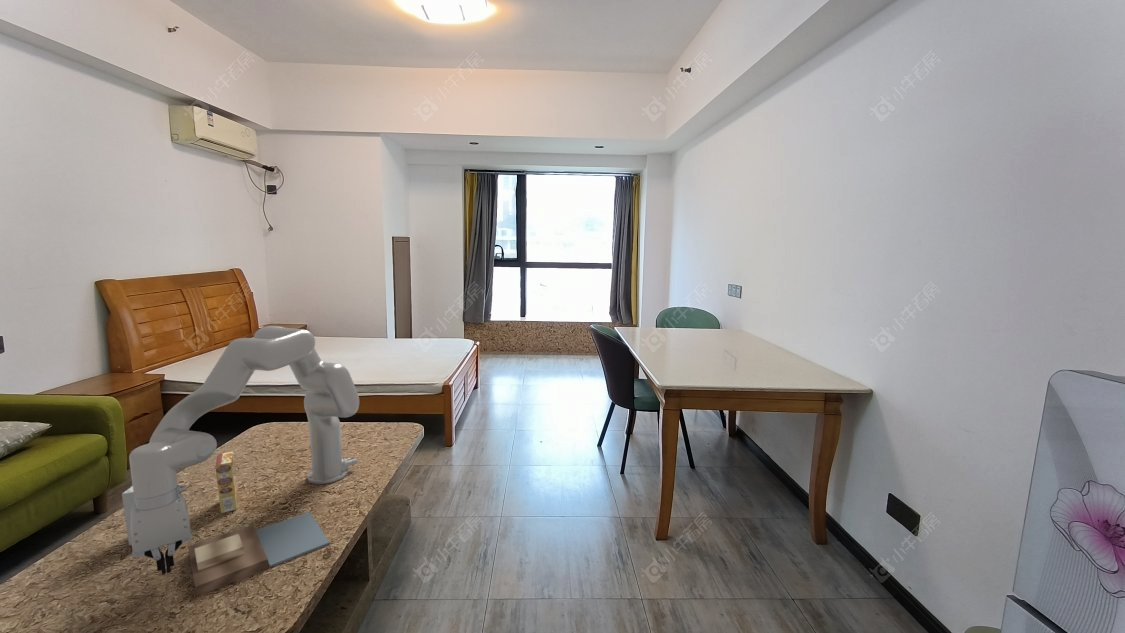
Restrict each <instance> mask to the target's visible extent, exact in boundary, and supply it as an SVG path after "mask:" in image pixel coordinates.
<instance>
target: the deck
mask: <svg viewBox="0 0 1125 633" xmlns="http://www.w3.org/2000/svg"><path fill="white" fill-rule="evenodd" d="M256 530H257V529H256V527H255V525H254V524H251V525H248V526H245V527H241V528H239V529H236V530H232V531H228V532H227V533H223V534H220V535H217V536H214V537H212V538H208V539H205V540H202V541H199V542H195V543H193V544H190V545H188V546H187V548H188V555H189V556H188V557H189V562H190V569H191V574H192V579H193V585H194V591H195V595H196V597H199V596H201V595H205V594H206V593H210V592H211V591H214V590H217V589H220V588H222V587H225V586H227V585H229V584H232V583H236V582H237V581H240V580H242V579H245V578H247V577H250V576H253V575H255V574H257V573H261V572H262V571H265V570H268V569H269V568H270V566H269V564H268V558H267V556H266V553H265V551H264V549H263V546H262V544H261V542H260V539H259V537H258V534H257V532H256ZM236 534H239V536H240V539H241V542H242V544H243V549H244V554H243V555H240V556H237V557H235V558H232V559H229V560H226V561H224V562H221V563H218V564H215V565H213V566H210V567H207V568H204V569H202V570H199V571H198V567H197V562H196V557H195V548H198V547H201V546H204V545H207V544H210V543H213V542H216V541H218V540H221V539H224V538H227V537H230V536H233V535H236Z"/></svg>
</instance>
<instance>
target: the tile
mask: <svg viewBox="0 0 1125 633" xmlns="http://www.w3.org/2000/svg"><path fill="white" fill-rule="evenodd" d="M243 554H244V549H243V544H242V542H241V539H240V536H239V534H236V535H233V536H230V537H227V538H224V539H221V540H218V541H216V542H213V543H210V544H207V545H204V546H201V547H198V548H195V557H196V562H197V567H198V571H199V570H202V569H204V568H207V567H210V566H213V565H215V564H218V563H221V562H224V561H226V560H229V559H232V558H235V557H237V556H240V555H243Z"/></svg>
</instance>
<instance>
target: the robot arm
mask: <svg viewBox="0 0 1125 633" xmlns="http://www.w3.org/2000/svg"><path fill="white" fill-rule="evenodd" d="M315 346H316V338H315V336H314V335H313V333H311V331H309V330H307V329H305V328H304V329H303V328H293V327H292V328H291V327H290V328H288V327H284V326H280V325H279V326H278V325H268V326H263V327H260V328H259V329H258V330H256V331H255V333H254V334H253V338H252V337H243V338H242V337H240V338H236V339H234V340H232V341H231V342H230V343H228V345H227V347H226V348H225V349H224V351H223V352H222V354H221V356H220V358H219V359H218V360H217V362H216V364H215V366H213V368H212V370H211V372H210V373H209V374H208V376H207V377H206V379H205V380H204V382H203V384H202V385H201V386H200V387H199V388H198V389H196V390H195V391H193V392H191V393H190V394H189V395H187V396H185V397H183V399H182V400H180V401H179V402H178V403H176V404H175V405H174V406H173V407H171V409H169V410H168V411H167V412H166V414H165V415H164V416H163V418H162V419H161V420H160V422H159V423H158V425H157V426H156V427H155V430H154V431H153V433H152V435H151V436H150V439H149V442H148V443H146V444H143V445H139V446H138V447H136V448H134V449H133V450H131V451H130V453H129V455H128V456H129V457H128V461H129V462H128V463H129V469H130V477H131V484H132V485H131V486H133V492H134V500H135V506H133V507H132V509H131V515H130V530H131V543H132V545H131V548H132V551H131V558H133V559H134V558H135V559H136V558H141V557H142V558H143V557H146V558H151V559H154V561H155V562H156V571H157V572H160V571H161V576H164V575H166V574H169V573H172V569H171V567H174V566H175V559H174V555H175V553H176V552H177V550H178V549H179V548H180V547H181V545H183V544H185V543H186V542H188V541H191V540H192V539H193V538H194V535H193V533H192V530H191V523H190V521H191V520H190V514H189V509H188V505H187V504H188V503H187V501H186V498H185V497H184V494H183V493H184V492H186V491H187V490H188V488H187V484H183V485H180V484H179V481H178V473H177V472H178V470H181V469H185V468H188V467H193V466H196V465H199V464H201V463H203V462H206V461H207V460H209V459H210V458H211V457H212V456H213V455H214V453H215V452H216V450H217V447H218V446H217V445H218V443H217V440H216V438H215V437H214V436H213V435H211V434H210V433H207V432H204V431H203V432H202V431H195V430H190V428H191V427H192V426H193V424H195V422H197V420H198V419H199V418H201V417H202V416H203V415H205V414H207V413H209V412H211V411H214V410H215V409H218V408H221V407H223V406H226V405H228V404H232V403H233V402H235V401H237V400H238V399H240V396H241V395H242V393H243V391H244V389H245V387H246V386H247V384H248V382H249V381H250V379H251V377H252V375H254V372H256V371H262V372H263V371H265V372H270V371H271V372H272V371H276V370H279V369H281V368H284V367H286V366H289V367H290V370H291V372H292V373H293V376H294V377H295V380H296V381H297V383H298V385H299V387H300V388H301V389H302V390H305V391H307V392H306V393H305V396H304V398H303V406H304V411H305V413H306V417H307V421H308V429H309V430H308V431H309V444H310V459H311V470H310V472H309V473H308V474H307V476H306V478H307V479H306V480H307V482H308V483H311V484H314V485H324V484H325V485H326V484H329V483H333V482H337V481H340V480H342V479H343V478H345V477H346V476H347V475H348V474H347V473H349V466H354V465H356V464H358V458H357V457H356V458H352V457H348V458H345V459H344V458H343V443H342V442H343V441H342V426H341V421H340V419H339V418H349V417H353V416H354V415H356V413H357V412H358V410H359V406H360V397H359V392H358V390H357V388H356V386H355V383H354V380H353V378H352V376H351V374H350V372H349V370H348V369H347V368H346V366H344V365H342V364H340V363H335V362H326V361H323V359H321V358H320V356H319V353H318V352H317V350H316V349H315ZM341 478H342V479H341ZM339 479H340V480H339ZM166 545H167V546H166ZM165 546H166V547H167V549H166V550H165V552H163V551H162V550H161V547H165Z"/></svg>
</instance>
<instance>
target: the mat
mask: <svg viewBox="0 0 1125 633" xmlns="http://www.w3.org/2000/svg"><path fill="white" fill-rule="evenodd" d="M255 530H256V532H257V534H258V537H259V539H260V542H261V544H262V546H263V549H264V551H265V553H266V556H267V558H268V567H269V568H273V567H275V566H278V565H280V564H282V563H286V562H288V561H291V560H293V559H296V558H298V557H301V556H303V555H306V554H308V553H311V552H313V551H314V552H315V551H317V550H319V549H321V548H325V547H326V546H328V545H331V544H330V541H329V538H328V537H327V536H326V534H325V533H324V532H323V530H322V528H321V527H320V525H319V524H318V522H317V521H316V518H315V517H314V515H313V514H312V513H311V511H309V512H305V513H303V514H299V515H296V516H293V517H290V518H288V519H285V520H282V521H279V522H275V523H272V524H270V525H267V526H264V527H261V528H258V529H255Z"/></svg>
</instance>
